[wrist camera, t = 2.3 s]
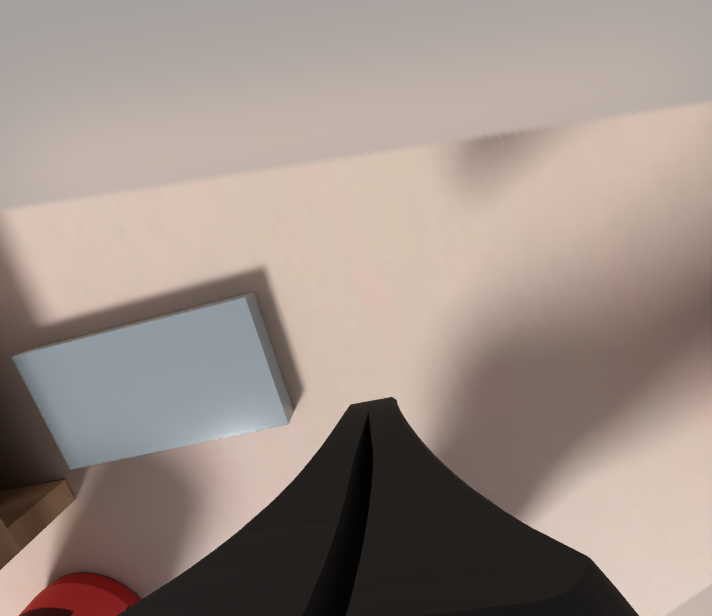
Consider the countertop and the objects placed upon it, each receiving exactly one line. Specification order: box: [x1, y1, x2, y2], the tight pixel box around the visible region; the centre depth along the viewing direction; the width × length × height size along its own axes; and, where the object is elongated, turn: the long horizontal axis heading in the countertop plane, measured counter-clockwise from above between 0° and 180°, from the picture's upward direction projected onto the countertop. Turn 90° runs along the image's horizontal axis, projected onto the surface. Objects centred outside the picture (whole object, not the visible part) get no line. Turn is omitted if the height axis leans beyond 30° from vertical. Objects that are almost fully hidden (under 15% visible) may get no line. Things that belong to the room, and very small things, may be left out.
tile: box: [11, 292, 294, 470], centre depth 19 cm, size 13×7×2 cm, turn 105°
